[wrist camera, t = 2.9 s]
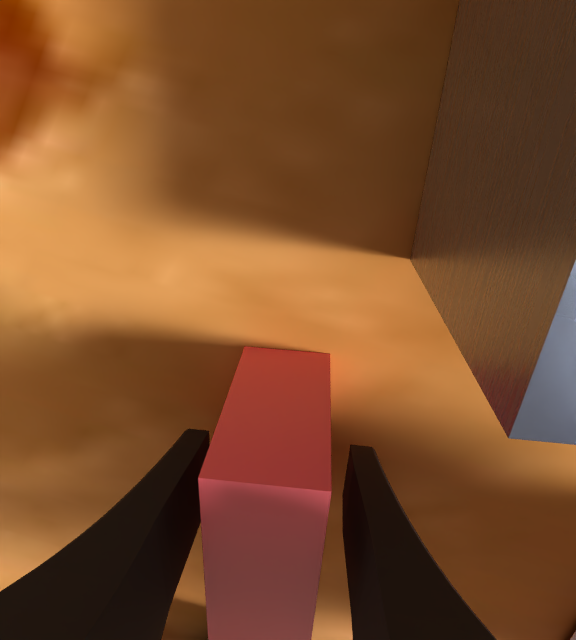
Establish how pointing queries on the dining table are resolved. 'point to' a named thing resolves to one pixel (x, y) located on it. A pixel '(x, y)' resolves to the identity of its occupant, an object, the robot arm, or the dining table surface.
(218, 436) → the pink flat block
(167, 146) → the dining table surface
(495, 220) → the grey box with slot
